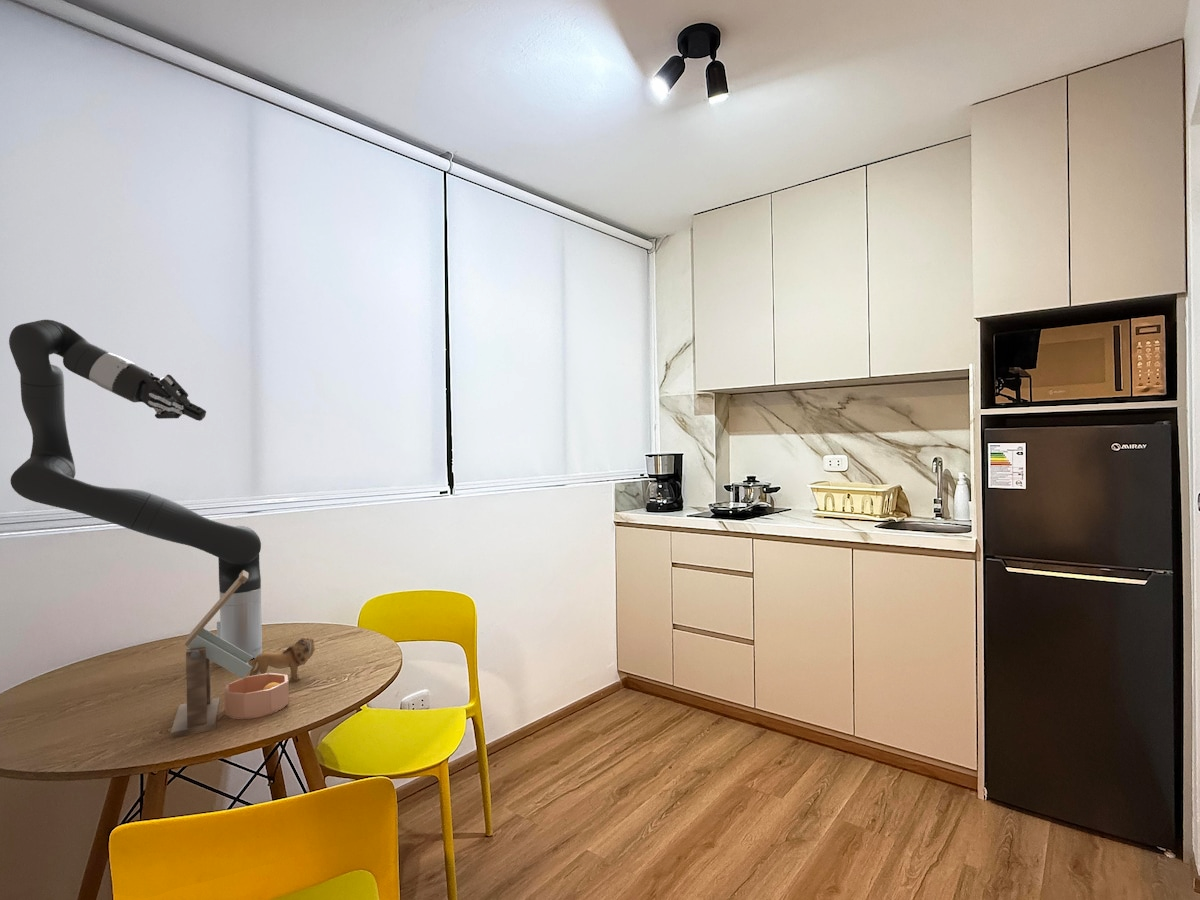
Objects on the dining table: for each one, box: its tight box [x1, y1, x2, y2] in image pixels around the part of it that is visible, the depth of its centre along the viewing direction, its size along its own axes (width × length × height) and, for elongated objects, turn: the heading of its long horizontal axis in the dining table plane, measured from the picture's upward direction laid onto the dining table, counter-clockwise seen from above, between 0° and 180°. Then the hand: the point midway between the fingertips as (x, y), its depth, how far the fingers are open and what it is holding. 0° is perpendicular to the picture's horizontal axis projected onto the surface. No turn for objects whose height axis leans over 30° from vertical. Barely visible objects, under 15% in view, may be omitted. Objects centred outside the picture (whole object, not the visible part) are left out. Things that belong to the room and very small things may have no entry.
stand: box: [170, 647, 221, 739], centre depth 124 cm, size 7×15×15 cm, turn 28°
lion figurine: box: [249, 636, 316, 681], centre depth 145 cm, size 15×5×9 cm, turn 118°
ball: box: [263, 682, 279, 690], centre depth 131 cm, size 4×4×4 cm
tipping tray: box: [184, 570, 253, 679], centre depth 128 cm, size 13×8×16 cm
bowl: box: [224, 672, 290, 720], centre depth 129 cm, size 11×11×5 cm
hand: (203, 416), depth 141 cm, fingers closed
